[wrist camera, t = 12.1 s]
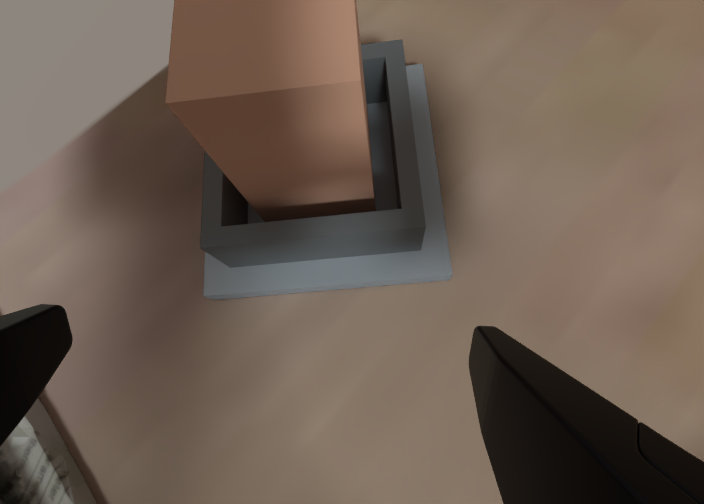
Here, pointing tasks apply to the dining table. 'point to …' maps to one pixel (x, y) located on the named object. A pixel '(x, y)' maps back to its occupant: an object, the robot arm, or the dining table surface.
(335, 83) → the terracotta block
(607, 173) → the dining table surface
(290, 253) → the box
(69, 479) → the packaged product
